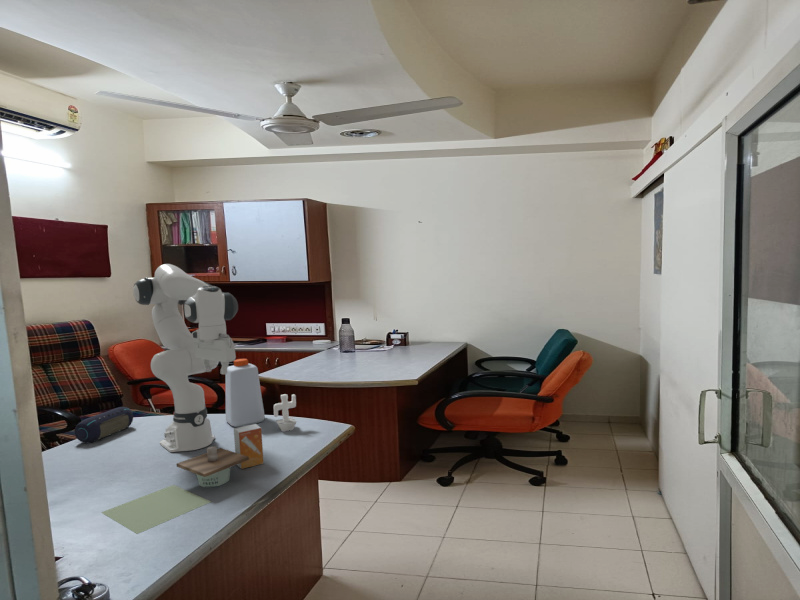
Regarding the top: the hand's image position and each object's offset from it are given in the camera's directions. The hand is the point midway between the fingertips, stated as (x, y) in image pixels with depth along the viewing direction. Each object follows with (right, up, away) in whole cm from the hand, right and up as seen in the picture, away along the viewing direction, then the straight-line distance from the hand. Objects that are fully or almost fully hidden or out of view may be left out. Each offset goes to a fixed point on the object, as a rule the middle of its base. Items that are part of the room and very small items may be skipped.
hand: (216, 372), depth 184 cm
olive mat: (-8, -36, -28) cm, 46 cm away
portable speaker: (-62, -33, +45) cm, 84 cm away
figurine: (+16, -30, +40) cm, 52 cm away
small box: (+11, -33, +3) cm, 35 cm away
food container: (+3, -34, -11) cm, 36 cm away
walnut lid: (+3, -28, -12) cm, 30 cm away
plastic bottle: (-6, -30, +54) cm, 62 cm away
